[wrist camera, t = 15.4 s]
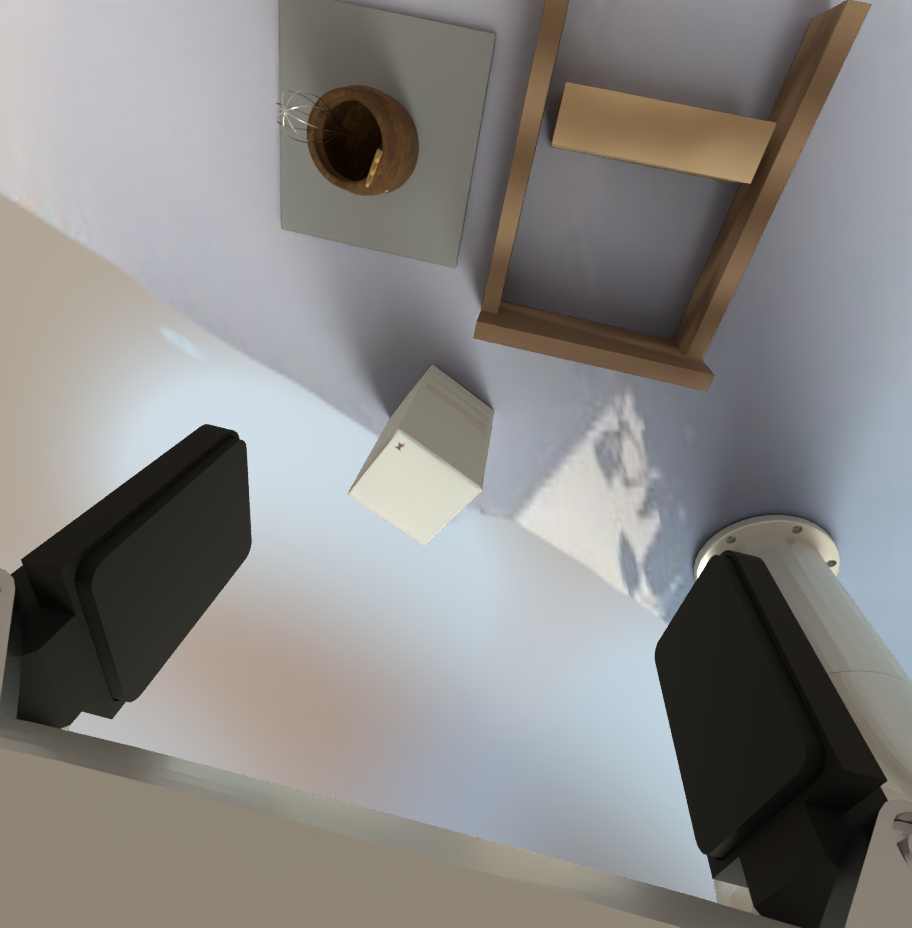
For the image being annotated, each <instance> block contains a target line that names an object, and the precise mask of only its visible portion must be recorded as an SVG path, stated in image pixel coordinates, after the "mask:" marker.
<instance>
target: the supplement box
mask: <svg viewBox="0 0 912 928" xmlns="http://www.w3.org/2000/svg"><path fill="white" fill-rule="evenodd" d="M493 416H494V411H493V410H492V409H491V408H489V407H488V406H487V405H486V404H484V403H483V402H482V401H480V400H479V399H478V398H477V397H475V396H474V395H473V394H471V393H470V392H469V391H467V390H466V389H465V388H463V387H462V386H461V385H460V384H458V383H457V382H456V381H454V380H453V379H452V378H450V377H449V376H448V375H446V374H445V373H444V372H442V371H441V370H440V369H439V368H437V367H436V366H435V365H433V364H432V365H431V366H430V367H429V369H428V370H427V371H426V372H425V374H424V375H423V376H422V377H421V379H420V380H419V381H418V383H417V384H416V385H415V386H414V387H413V389H412V390H411V391H410V392H409V394H408V395H407V396H406V398H405V399H404V400H403V401H402V403H401V404H400V405H399V407H398V408H397V409H396V411H395V412H394V413H393V415H392V416H391V417H390V419H389V421H388V423H387V425H386V426H385V428H384V430H383V432H382V434H381V435H380V437H379V439H378V441H377V442H376V444H375V446H374V448H373V449H372V451H371V453H370V455H369V456H368V458H367V460H366V462H365V463H364V465H363V467H362V469H361V471H360V473H359V474H358V476H357V478H356V480H355V482H354V483H353V485H352V487H351V489H350V490H349V492H348V495H349V496H350V497H352V498H353V499H355V500H356V501H358V502H359V503H361V504H362V505H364V506H365V507H367V508H369V509H370V510H372V511H373V512H375V513H376V514H378V515H379V516H380V517H382V518H383V519H385V520H387V521H388V522H390V523H391V524H393V525H394V526H396V527H397V528H399V529H400V530H402V531H403V532H405V533H406V534H408V535H409V536H411V537H412V538H414V539H415V540H417V541H418V542H420V543H421V544H423V545H425V544H426V543H427V542H428V541H429V540H430V539H431V538H432V537H433V536H434V535H435V534H436V533H437V532H439V531H440V530H441V529H442V528H443V527H444V525H446V524H447V523H448V522H449V521H450V520H451V519H452V518H453V517H454V516H455V515H456V514H458V513H459V512H460V511H461V510H462V509H463V508H464V507H465V506H466V505H467V504H468V503H469V502H471V501H472V500H473V499H474V498H475V497H476V496H477V495H478V494H479V493H480V492H481V491H482V489H483V480H484V473H485V466H486V460H487V455H488V448H489V442H490V436H491V430H492V423H493Z"/></svg>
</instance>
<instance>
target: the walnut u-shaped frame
mask: <svg viewBox="0 0 912 928" xmlns="http://www.w3.org/2000/svg"><path fill="white" fill-rule="evenodd" d="M568 4H569V0H546V2H545V7H544V11H543V16H542V21H541V26H540V31H539V35H538V40H537V45H536V50H535V55H534V59H533V64H532V69H531V74H530V79H529V83H528V88H527V93H526V98H525V103H524V107H523V112H522V117H521V122H520V127H519V131H518V136H517V141H516V146H515V151H514V155H513V160H512V165H511V170H510V175H509V179H508V184H507V189H506V194H505V199H504V203H503V208H502V213H501V218H500V223H499V227H498V232H497V237H496V242H495V247H494V251H493V256H492V261H491V266H490V271H489V275H488V280H487V285H486V290H485V295H484V299H483V304H482V309H481V312H480V315H479V317H478V319H477V323H476V327H475V332H474V337H473V338H475V339H479V340H483V341H488V342H492V343H497V344H501V345H505V346H510V347H514V348H518V349H523V350H527V351H532V352H536V353H540V354H545V355H549V356H554V357H558V358H562V359H567V360H571V361H575V362H580V363H584V364H589V365H593V366H597V367H602V368H606V369H611V370H615V371H619V372H624V373H628V374H633V375H637V376H641V377H646V378H650V379H654V380H659V381H663V382H668V383H672V384H676V385H681V386H685V387H690V388H694V389H698V390H703V391H707V390H708V388H709V386H710V384H711V382H712V380H713V378H714V376H715V375H714V374H713V373H712V371H711V370H710V369H709V368H708V367H707V365H706V364H705V363H704V362H703V361H702V359H703V357H704V355H705V353H706V351H707V349H708V347H709V345H710V343H711V341H712V338H713V336H714V334H715V332H716V330H717V328H718V326H719V324H720V322H721V320H722V317H723V315H724V313H725V311H726V309H727V307H728V305H729V303H730V301H731V299H732V296H733V294H734V292H735V290H736V288H737V286H738V284H739V282H740V280H741V278H742V275H743V273H744V271H745V269H746V267H747V265H748V263H749V261H750V259H751V257H752V255H753V252H754V250H755V248H756V246H757V244H758V242H759V240H760V238H761V236H762V234H763V231H764V229H765V227H766V225H767V223H768V221H769V219H770V217H771V215H772V213H773V210H774V208H775V206H776V204H777V202H778V200H779V198H780V196H781V194H782V192H783V189H784V187H785V185H786V183H787V181H788V179H789V177H790V175H791V173H792V171H793V168H794V166H795V164H796V162H797V160H798V158H799V156H800V154H801V152H802V150H803V147H804V145H805V143H806V141H807V139H808V137H809V135H810V133H811V131H812V129H813V126H814V124H815V122H816V120H817V118H818V116H819V114H820V112H821V110H822V108H823V105H824V103H825V101H826V99H827V97H828V95H829V93H830V91H831V89H832V87H833V84H834V82H835V80H836V78H837V76H838V74H839V72H840V70H841V68H842V66H843V63H844V61H845V59H846V57H847V55H848V53H849V51H850V49H851V47H852V45H853V42H854V40H855V38H856V36H857V34H858V32H859V30H860V28H861V26H862V24H863V21H864V19H865V17H866V15H867V13H868V11H869V9H870V7H871V5H872V4H868V3H863V2H858V1H853V0H847V1H845V2H843V3H841V4H839V5H837V6H836V7H834V8H832V9H830V10H828V11H826V12H824V13H823V14H821V15H819V16H817V17H815V18H813V19H812V20H811V22H810V25H809V27H808V29H807V31H806V34H805V36H804V38H803V41H802V43H801V45H800V48H799V50H798V52H797V55H796V57H795V59H794V62H793V64H792V66H791V68H790V71H789V73H788V75H787V78H786V80H785V82H784V85H783V87H782V89H781V92H780V94H779V96H778V99H777V101H776V103H775V105H774V108H773V110H772V112H771V115H770V117H769V119H768V121H770V122H775V123H776V126H775V128H774V130H773V133H772V135H771V137H770V140H769V142H768V144H767V147H766V149H765V151H764V154H763V156H762V158H761V161H760V163H759V165H758V168H757V170H756V172H755V175H754V177H753V179H752V182H751V184H749V183H741V184H740V186H739V189H738V191H737V193H736V196H735V198H734V200H733V203H732V205H731V207H730V209H729V212H728V214H727V216H726V219H725V221H724V223H723V226H722V228H721V230H720V233H719V235H718V237H717V240H716V242H715V244H714V246H713V249H712V251H711V253H710V256H709V258H708V260H707V263H706V265H705V267H704V270H703V272H702V274H701V277H700V279H699V281H698V283H697V286H696V288H695V290H694V293H693V295H692V297H691V300H690V302H689V304H688V307H687V309H686V311H685V314H684V316H683V318H682V320H681V323H680V325H679V327H678V330H677V332H676V334H675V337H674V339H673V340H671V339H666V338H662V337H657V336H653V335H649V334H644V333H640V332H635V331H631V330H626V329H622V328H618V327H613V326H609V325H604V324H600V323H595V322H591V321H587V320H582V319H578V318H573V317H569V316H564V315H560V314H555V313H551V312H547V311H542V310H538V309H533V308H529V307H524V306H520V305H516V304H511V303H507V302H502V301H501V298H502V294H503V290H504V285H505V281H506V277H507V272H508V268H509V263H510V259H511V255H512V250H513V246H514V241H515V237H516V233H517V228H518V224H519V219H520V215H521V211H522V206H523V202H524V197H525V193H526V189H527V184H528V180H529V175H530V171H531V167H532V162H533V158H534V153H535V149H536V145H537V140H538V136H539V131H540V127H541V123H542V118H543V114H544V110H545V105H546V101H547V96H548V92H549V88H550V83H551V79H552V74H553V70H554V66H555V61H556V57H557V52H558V48H559V44H560V39H561V35H562V30H563V26H564V22H565V17H566V13H567V8H568Z"/></svg>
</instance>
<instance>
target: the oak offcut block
mask: <svg viewBox="0 0 912 928" xmlns="http://www.w3.org/2000/svg"><path fill="white" fill-rule="evenodd" d="M775 126H776V123H775V122H770V121H765V120H760V119H754V118H749V117H744V116H739V115H734V114H729V113H724V112H718V111H713V110H708V109H703V108H698V107H693V106H688V105H683V104H677V103H672V102H667V101H662V100H657V99H652V98H647V97H641V96H636V95H631V94H626V93H621V92H616V91H611V90H605V89H600V88H595V87H590V86H585V85H580V84H575V83H569V82H566V84H565V87H564V91H563V94H562V99H561V103H560V107H559V112H558V116H557V120H556V125H555V129H554V133H553V138H552V142H551V147H554V148H559V149H564V150H569V151H574V152H579V153H584V154H589V155H594V156H599V157H604V158H609V159H614V160H619V161H624V162H629V163H634V164H639V165H644V166H649V167H654V168H659V169H664V170H669V171H674V172H679V173H684V174H689V175H694V176H699V177H704V178H709V179H714V180H719V181H724V182H736V183H749V184H751V182H752V179H753V177H754V175H755V172H756V170H757V168H758V165H759V163H760V161H761V158H762V156H763V154H764V151H765V149H766V147H767V144H768V142H769V140H770V137H771V135H772V133H773V130H774V128H775Z"/></svg>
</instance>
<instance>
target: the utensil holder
mask: <svg viewBox="0 0 912 928" xmlns="http://www.w3.org/2000/svg"><path fill="white" fill-rule="evenodd" d="M286 91H290V90H286ZM286 91H284V92H283V95H284V93H285V92H286ZM290 92H293V93H295V94H294V95H296V94H299V93H300V92H304V91H299V92H294V91H290ZM304 93H308V92H304ZM308 94H311V93H308ZM283 95H282V104H279V103H276V106H277V107H279V106H278V105H277V104H279V105H283V108H284V106H286V108H287V107H289V106H288V103H289V101H290V100H291V98H292V97H293V96H294V95H293V96H292V97H291V98H290V99H289V101H288V103H287V105H284V104H283ZM299 95H302V94H299ZM311 95H313V96H316V95H314V94H311ZM302 96H304V95H302ZM304 97H306V96H304ZM316 97H318V96H316ZM306 98H307V97H306ZM318 98H319V97H318ZM307 99H309V98H307ZM309 100H310V99H309ZM310 101H311V100H310ZM311 102H312V103H314V102H313V101H311ZM314 104H315V105H314V106H298V107H294V108H299V107H313V108H312V110H311V113H310V115H309V114H306V113H304V112H302V111H299V110H297V109H294V108H292V107H289V108H291V109H294V110H297V111H299V112H302V113H304V114H306V115H309V119H308V123H306V122H304V121H302V120H300V119H298V118H296V117H294V116H292V115H291V114H289V113H288V112H286V111H289V110H291V109H288V110H286V108H284V110H283V109H281V108H280V107H279V108H280V109H281V110H283V111H284V112H282V113H281V114H283V113H284V116H285V114H286V113H287V114H289V115H291V116H292V117H294V118H296V119H298V120H300V121H301V122H303V123H306V124H307V129H301V130H307V140H306V139H304V138H302V137H301V136H300V135H299V134H298V133H297V132H296V131H295V129H300V128H295V127H293V126H292V125H291V123H290V121H289V119H288V117H287V114H286V117H287V119H288V121H289V123H290V125H291V126H288V125H285V124H284V117H283V124H282V123H279V122H278V120H277V118H278V117H279V116H280V115H281V114H279V115H278V116H277V118H276V120H277V122H278V123H279V124H282V125H283V127H284V125H285V126H288V127H291V128H293V129H294V128H295V129H294V131H295V132H296V133H297V134H298V135H299V136H300V137H301V138H302V139H304V140H306V141H307V142H304V141H300V140H297V141H300V142H304V143H308V148H309V152H310V155H311V158H312V160H313V162H314V164H315V166H316V167H317V169H318V170H319V172H320V173H321V174H322V175H323V176H324V177H325V178H326V179H327V180H328V181H329V182H330V183H332V184H334V185H335V186H337V187H339V188H341V189H344V190H346V191H348V192H350V193H353V194H356V195H361V196H375V195H381V194H386V193H389V192H392V191H394V190H396V189H398V188H400V187H401V186H402V185H403V184H404V183H405V182H406V181H407V180H408V179H409V178H410V176H411V175H412V173H413V171H414V169H415V167H416V164H417V160H418V154H419V140H418V134H417V130H416V127H415V124H414V122H413V120H412V118H411V116H410V114H409V113H408V112H407V110H406V109H405V108H404V107H403V105H402V104H401V103H399V102H398V101H397V100H396V99H394V98H393V97H391V96H390V95H388V94H386V93H384V92H382V91H380V90H377V89H375V88H372V87H369V86H364V85H350V86H346V87H340V88H336V89H333V90H331V91H328V92H327V93H325V94H324V95H322V96H321V97H320V98H319V99H318V101H317V102H316V103H314ZM284 131H285V127H284ZM285 133H286V131H285ZM286 135H287V136H288V134H287V133H286ZM288 137H289V136H288ZM289 138H291V137H289ZM291 139H293V138H291ZM294 140H296V139H294Z"/></svg>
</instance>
